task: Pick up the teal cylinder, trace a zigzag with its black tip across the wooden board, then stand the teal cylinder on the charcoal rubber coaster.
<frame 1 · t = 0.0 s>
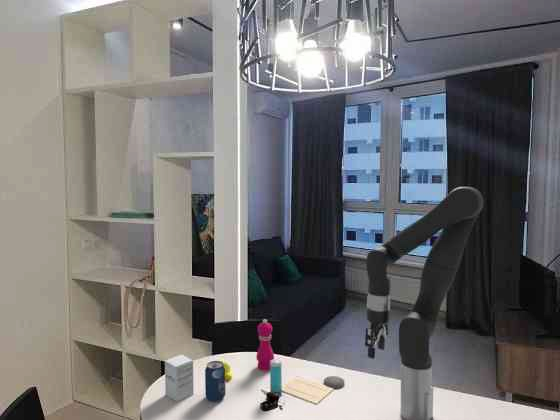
hand: (376, 353, 130), 17 cm above the table, tool pointing down, fingers open, 8 cm apart
teal cylinder: (276, 394, 136), on the table
wooden board: (306, 389, 139), on the table
pepper mill: (265, 367, 157), on the table
soda can: (215, 398, 134), on the table
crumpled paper: (221, 379, 148), on the table
supplement box: (179, 395, 137), on the table
coaster: (334, 383, 144), on the table
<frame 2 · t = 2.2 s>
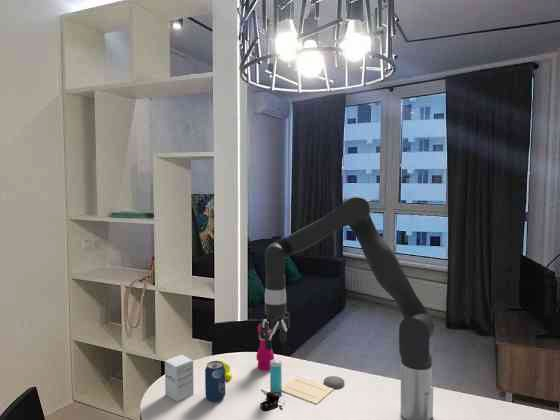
hand: (275, 345, 135), 18 cm above the table, tool pointing down, fingers open, 8 cm apart
nothing on the table moved.
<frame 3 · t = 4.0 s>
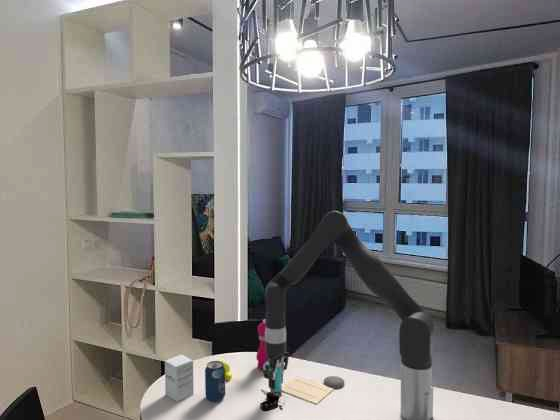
hand: (275, 385, 136), 3 cm above the table, tool pointing down, fingers closed on teal cylinder, 4 cm apart
teal cylinder: (276, 394, 136), on the table, touching gripper
everything else where it was.
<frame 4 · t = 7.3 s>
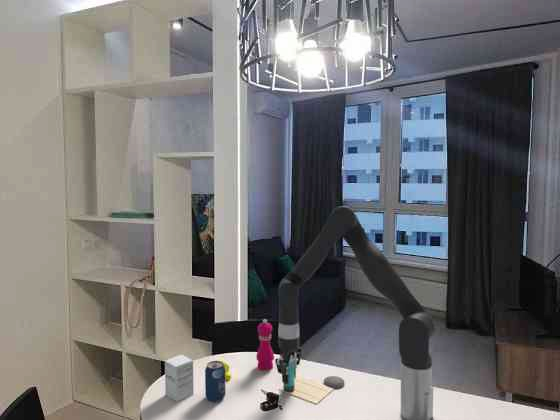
hand: (289, 380, 139), 4 cm above the table, tool pointing down, fingers closed on teal cylinder, 4 cm apart
teal cylinder: (289, 389, 139), on the table, touching gripper
everything else where it was.
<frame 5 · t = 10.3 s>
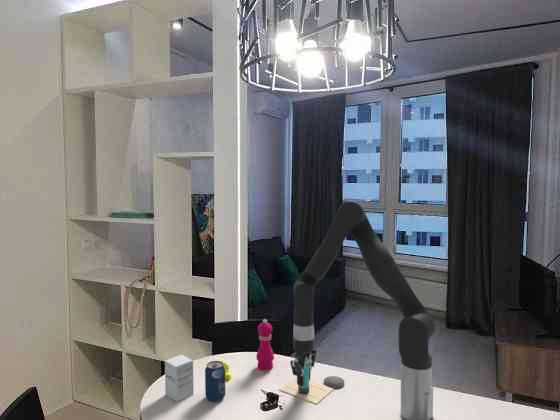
hand: (303, 382, 137), 4 cm above the table, tool pointing down, fingers closed on teal cylinder, 4 cm apart
teal cylinder: (303, 391, 138), on the table, touching gripper
everything else where it was.
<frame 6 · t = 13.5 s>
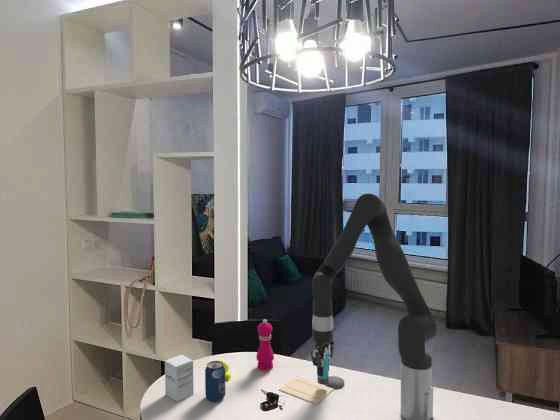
hand: (323, 373, 139), 6 cm above the table, tool pointing down, fingers closed on teal cylinder, 4 cm apart
teal cylinder: (323, 381, 139), point 3 cm above the table, touching gripper
everything else where it was.
when the fingers open (5 cm above the table, at t = 16.6 s): teal cylinder stays where it is, resting on coaster.
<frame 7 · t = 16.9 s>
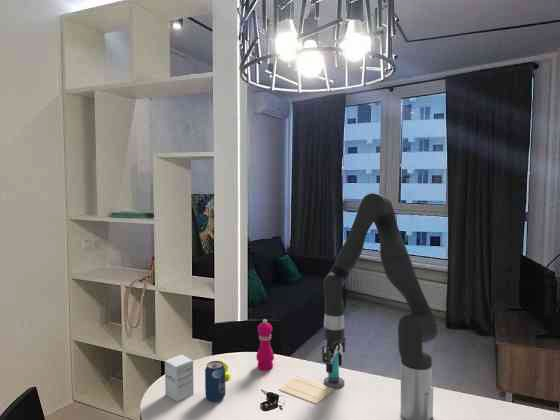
hand: (334, 368, 143), 6 cm above the table, tool pointing down, fingers open, 7 cm apart
teal cylinder: (333, 380, 144), point 1 cm above the table, touching coaster
everything else where it was.
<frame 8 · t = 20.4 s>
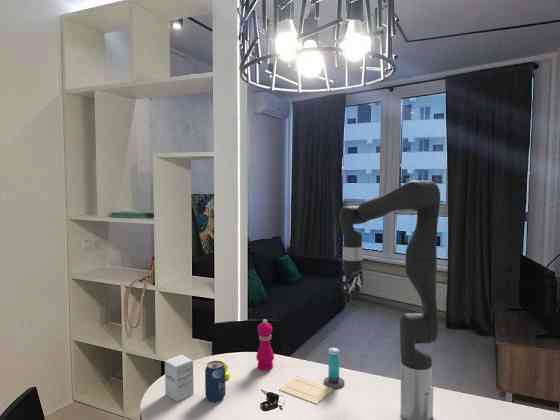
hand: (352, 299, 147), 30 cm above the table, tool pointing down, fingers open, 8 cm apart
at the end: teal cylinder 0.1 cm off-centre on the coaster, point 0.8 cm above the coaster's base; teal cylinder tilted 0°; the gripper is holding nothing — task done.
